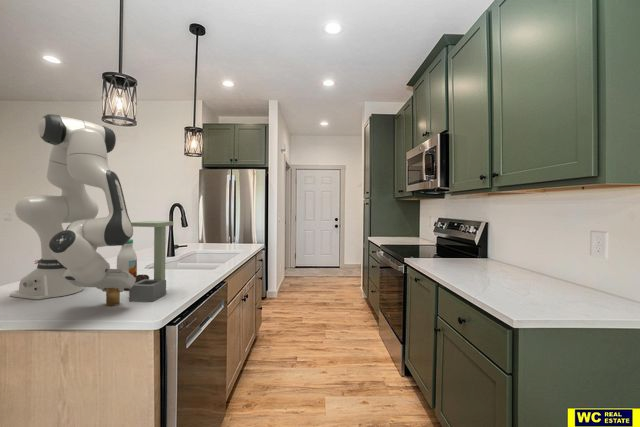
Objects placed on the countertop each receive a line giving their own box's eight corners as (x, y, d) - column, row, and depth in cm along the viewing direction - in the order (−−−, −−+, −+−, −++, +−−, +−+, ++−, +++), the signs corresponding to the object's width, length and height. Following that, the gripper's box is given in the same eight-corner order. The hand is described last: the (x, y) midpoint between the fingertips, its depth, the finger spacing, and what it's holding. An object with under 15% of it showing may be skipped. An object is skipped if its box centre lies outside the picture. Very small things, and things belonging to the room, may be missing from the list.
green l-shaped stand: (130, 299, 110) (131, 222, 109) (149, 290, 122) (150, 220, 121) (156, 300, 110) (157, 223, 109) (173, 291, 122) (173, 221, 121)
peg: (103, 305, 103) (103, 280, 103) (111, 302, 107) (111, 277, 107) (114, 306, 103) (114, 281, 103) (122, 302, 107) (122, 278, 107)
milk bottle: (121, 286, 127) (121, 241, 126) (113, 283, 131) (113, 239, 131) (140, 282, 133) (140, 239, 133) (131, 280, 138) (132, 238, 137)
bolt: (147, 285, 136) (128, 294, 121) (138, 280, 136) (117, 288, 121) (154, 274, 136) (135, 282, 121) (144, 269, 136) (125, 276, 121)
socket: (129, 301, 108) (129, 285, 108) (144, 293, 117) (144, 279, 117) (152, 301, 108) (152, 286, 108) (166, 294, 117) (166, 279, 117)
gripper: (128, 262, 97) (146, 283, 107) (69, 260, 98) (92, 281, 108) (118, 278, 93) (138, 299, 103) (56, 276, 93) (82, 297, 104)
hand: (114, 290), depth 105 cm, fingers closed on peg, 4 cm apart
